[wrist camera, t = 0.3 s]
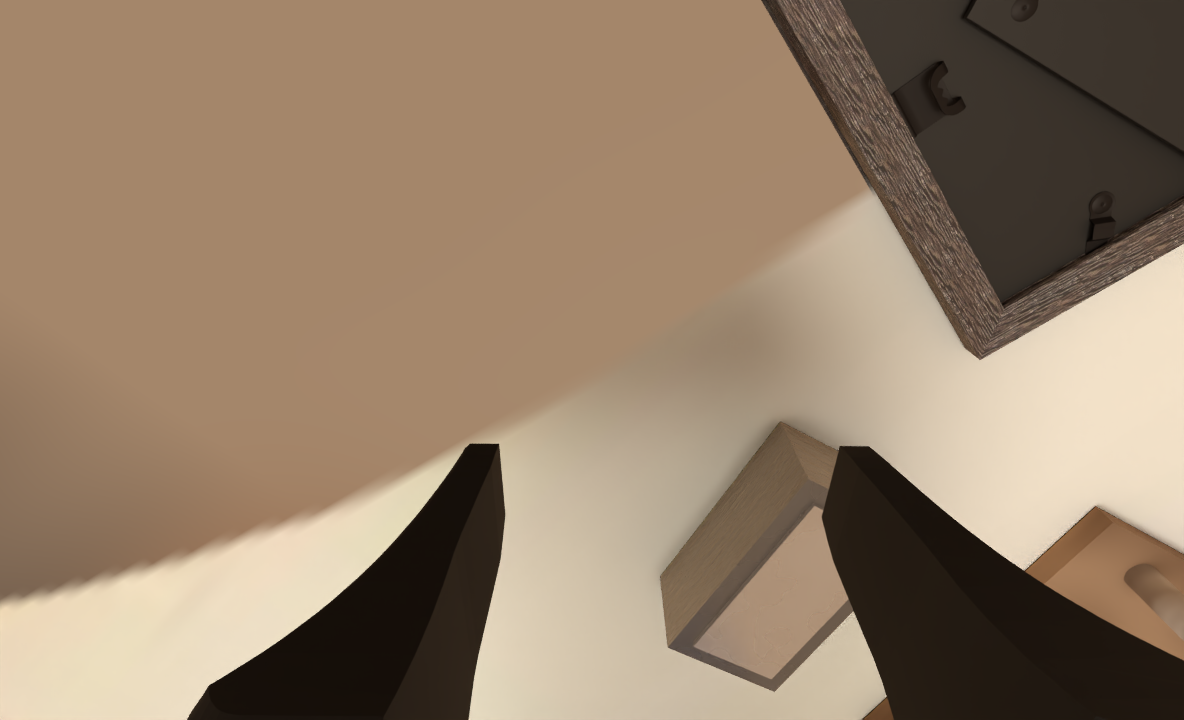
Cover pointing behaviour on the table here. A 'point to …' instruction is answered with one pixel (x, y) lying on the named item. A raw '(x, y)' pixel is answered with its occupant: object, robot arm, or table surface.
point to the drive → (760, 568)
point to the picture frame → (1008, 141)
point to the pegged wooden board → (1113, 582)
